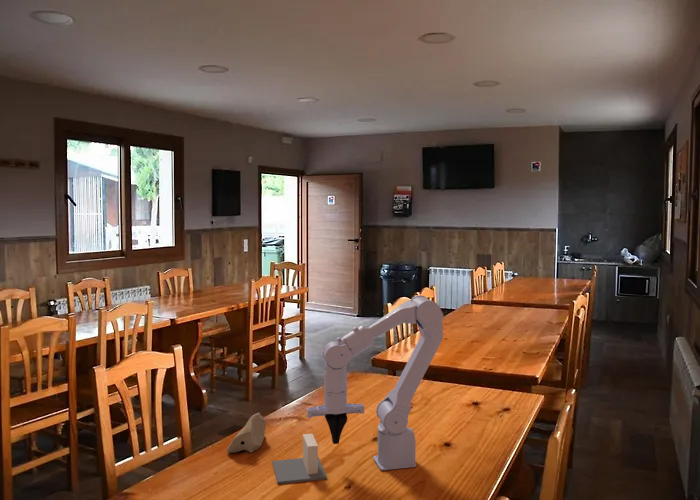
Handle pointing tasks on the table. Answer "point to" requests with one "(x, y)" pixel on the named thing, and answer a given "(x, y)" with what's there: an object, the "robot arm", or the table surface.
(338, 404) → the robot arm
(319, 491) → the table surface
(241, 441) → the grey animal figurine
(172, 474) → the table surface
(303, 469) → the mat
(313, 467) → the block
